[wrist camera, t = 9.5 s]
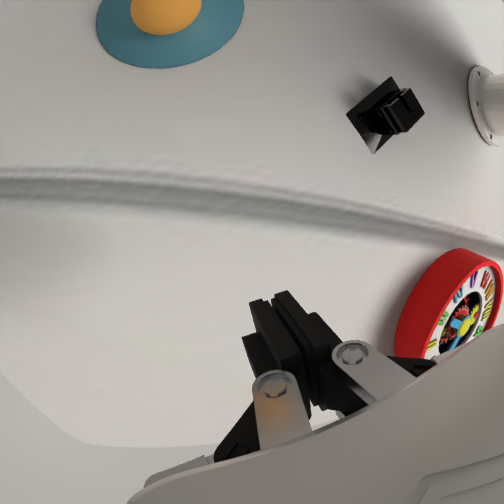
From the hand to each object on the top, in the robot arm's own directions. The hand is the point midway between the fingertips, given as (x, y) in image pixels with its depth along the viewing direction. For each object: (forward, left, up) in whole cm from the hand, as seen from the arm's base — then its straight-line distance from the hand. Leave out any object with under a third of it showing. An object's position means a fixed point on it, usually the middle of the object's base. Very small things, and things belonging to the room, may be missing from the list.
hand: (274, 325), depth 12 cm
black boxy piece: (-18, -9, -14) cm, 25 cm away
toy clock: (-28, +20, -14) cm, 37 cm away
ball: (0, -21, -11) cm, 23 cm away
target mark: (0, -22, -13) cm, 26 cm away
